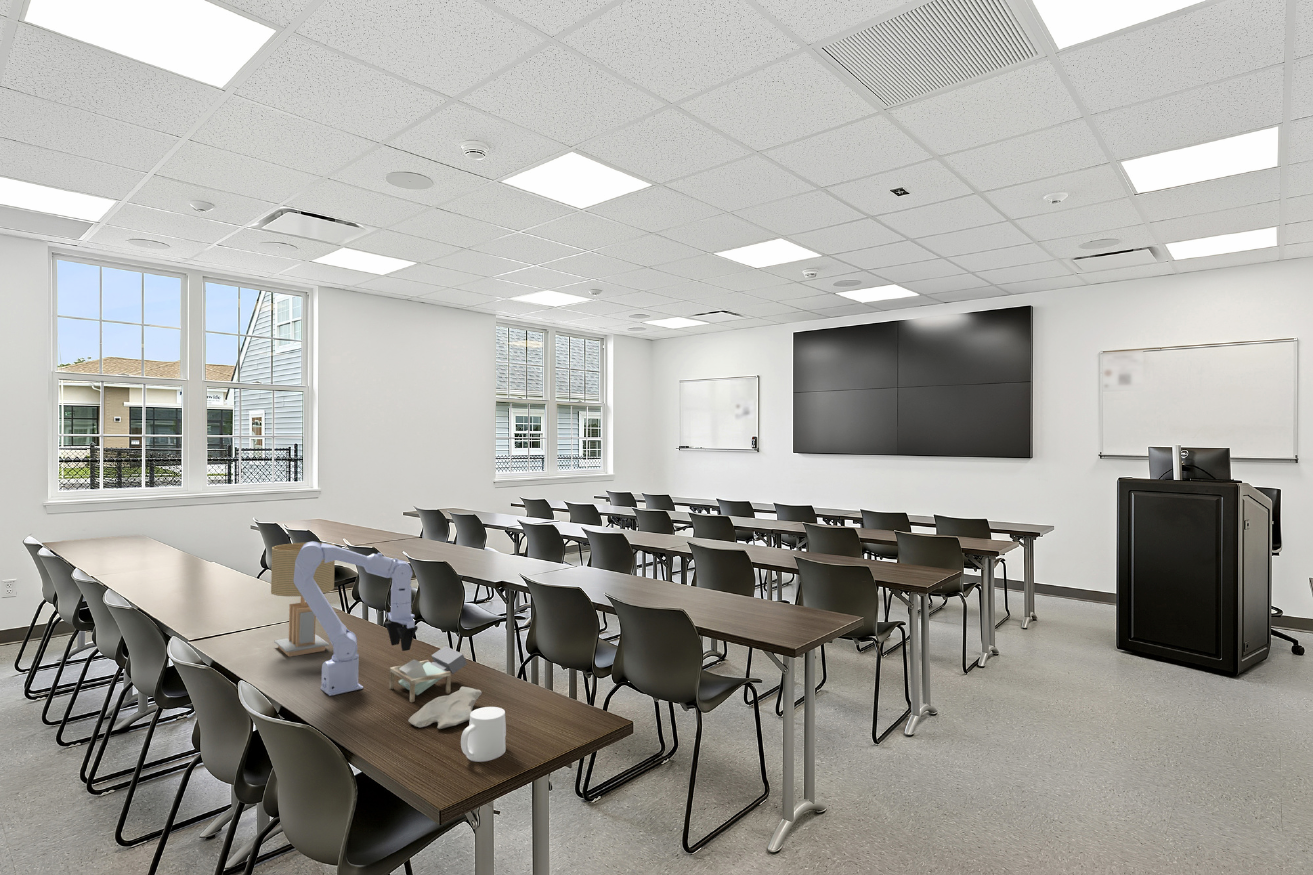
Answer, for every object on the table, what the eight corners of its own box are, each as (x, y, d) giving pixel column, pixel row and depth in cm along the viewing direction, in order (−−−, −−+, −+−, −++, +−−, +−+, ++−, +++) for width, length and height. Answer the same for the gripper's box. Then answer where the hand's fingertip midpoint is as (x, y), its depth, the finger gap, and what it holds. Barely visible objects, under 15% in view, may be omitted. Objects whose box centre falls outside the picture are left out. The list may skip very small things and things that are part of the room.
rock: (504, 713, 189) (468, 695, 198) (504, 697, 188) (468, 680, 197) (437, 746, 172) (401, 725, 181) (437, 728, 171) (401, 707, 180)
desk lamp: (262, 647, 243) (265, 545, 243) (322, 638, 256) (325, 541, 256) (277, 661, 228) (280, 552, 229) (340, 650, 241) (342, 547, 242)
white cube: (412, 687, 200) (406, 672, 199) (405, 683, 204) (399, 668, 202) (427, 677, 203) (421, 662, 202) (420, 673, 207) (413, 658, 205)
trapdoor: (448, 655, 217) (444, 645, 216) (468, 664, 208) (463, 654, 207) (401, 687, 206) (396, 677, 205) (419, 698, 198) (414, 688, 197)
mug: (491, 703, 170) (514, 710, 166) (490, 741, 170) (514, 750, 166) (451, 718, 160) (475, 726, 156) (450, 759, 160) (474, 769, 156)
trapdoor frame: (427, 679, 213) (427, 659, 213) (450, 692, 203) (450, 671, 203) (389, 688, 205) (389, 667, 205) (411, 702, 195) (411, 680, 195)
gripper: (424, 604, 208) (424, 650, 208) (403, 596, 219) (403, 639, 219) (401, 607, 203) (400, 654, 203) (381, 599, 214) (380, 644, 214)
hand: (400, 647), depth 211 cm, fingers open, 7 cm apart
